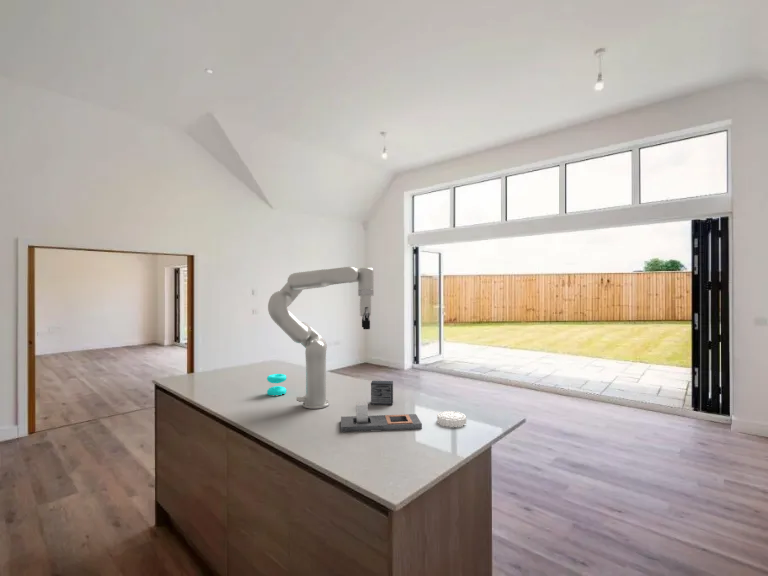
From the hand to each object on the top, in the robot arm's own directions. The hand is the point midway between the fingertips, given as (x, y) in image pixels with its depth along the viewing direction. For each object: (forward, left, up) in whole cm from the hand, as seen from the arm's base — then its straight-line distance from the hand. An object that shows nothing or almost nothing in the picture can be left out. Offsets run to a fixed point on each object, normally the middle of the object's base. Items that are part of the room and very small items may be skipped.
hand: (365, 328), depth 184 cm
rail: (+4, -30, -37) cm, 47 cm away
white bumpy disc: (+34, -30, -37) cm, 59 cm away
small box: (+8, 0, -37) cm, 38 cm away
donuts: (-46, +22, -37) cm, 63 cm away
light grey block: (-3, -30, -37) cm, 47 cm away
